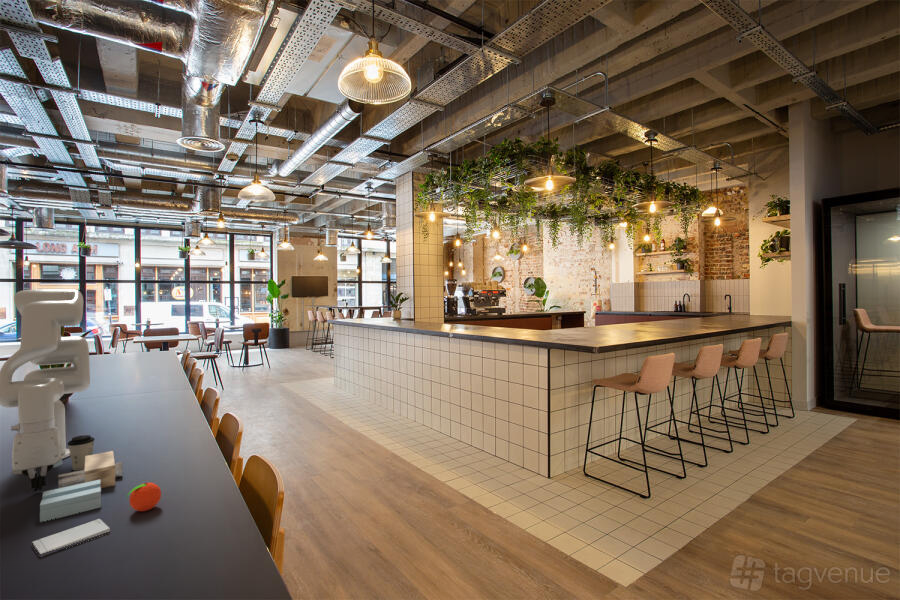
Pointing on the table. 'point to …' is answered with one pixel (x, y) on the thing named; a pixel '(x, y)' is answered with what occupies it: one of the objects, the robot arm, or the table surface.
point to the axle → (82, 476)
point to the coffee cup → (80, 450)
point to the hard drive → (71, 536)
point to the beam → (100, 468)
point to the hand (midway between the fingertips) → (38, 489)
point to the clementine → (144, 496)
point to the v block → (70, 500)
